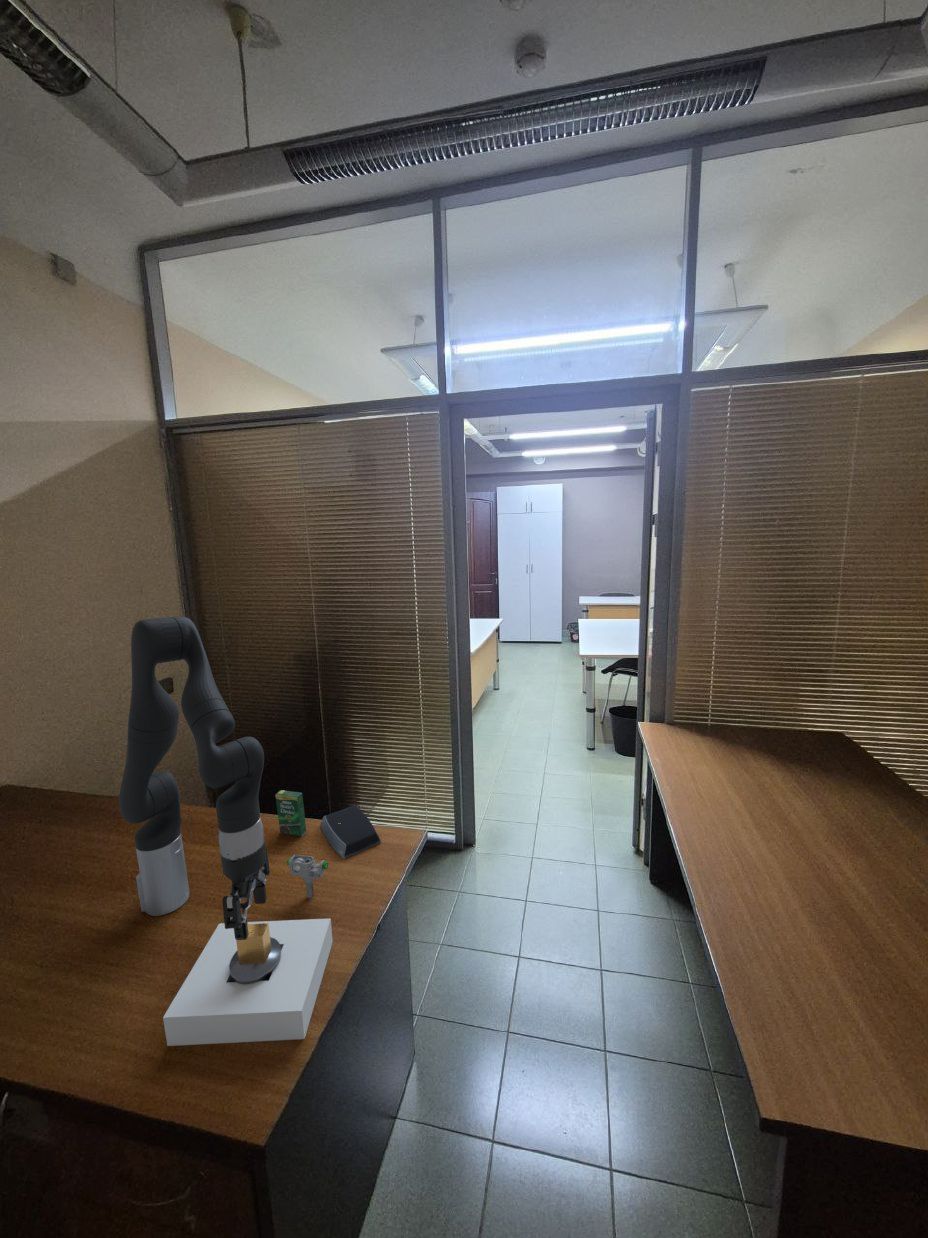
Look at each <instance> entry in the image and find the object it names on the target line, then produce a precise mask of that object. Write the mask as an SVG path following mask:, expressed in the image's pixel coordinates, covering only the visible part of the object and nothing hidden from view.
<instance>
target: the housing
mask: <svg viewBox="0 0 928 1238" xmlns="http://www.w3.org/2000/svg"><path fill="white" fill-rule="evenodd" d="M262 923H269V932H270V937H271V938H274V939H276V940H277V941H278V942H279V943H280V947H281V959H280V962H279V964H278V965H277V967H276V968H275V969H274V971H273V972H272V974H271V977H270V979H269V981H258V982H255V983H251V984H239V983H236V982H235V981H233V979H232V978H231V975H230V969H229V965H230V961H231V959H232V957H233V955H234V954H235V952H236V951H237V943H236V939H235V934H234V928H230V929H225V924H224V922H223V923H222V922H221V923H220V922H219V924H218V925H217V927H216V929H215V930H214V931H213V933H212V935H211V937H210V938H209V939H208V942H207V943H206V945H205V947H204V948H203V950H202V952H201V953H200V955H199V956H198V958H197V960H196V961H195V963H194V965H193V966H192V968H191V971H189V973H188V975H187V977H186V978H185V979H184V981H183V983H182V985H181V986H180V988H179V990H178V991H177V994H175V997H174V998H173V1000H172V1001H171V1003H170V1005H169V1007H168V1008H167V1010H166V1012H165V1013H164V1015H163V1017H162V1020H163V1026H164V1032H165V1033H164V1034H165V1038H166V1045H167V1047H176V1046H177V1047H178V1046H194V1045H197V1046H198V1045H213V1044H215V1045H216V1044H235V1043H237V1044H238V1043H253V1042H270V1041H276V1042H277V1041H291V1040H292V1041H293V1040H305V1038H306V1036H307V1032H308V1028H309V1026H310V1021H311V1018H312V1014H313V1011H314V1007H315V1004H316V1001H317V999H318V998H317V997H318V994H319V990H320V987H321V984H322V981H323V977H324V974H325V970H326V966H327V963H328V960H329V956H330V952H331V948H332V945H333V931H332V928H333V927H332V919H331V918H313V919H289V920H268V921H266V920H265V921H247V924H262Z"/></svg>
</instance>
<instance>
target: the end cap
mask: <svg viewBox="0 0 928 1238" xmlns="http://www.w3.org/2000/svg"><path fill="white" fill-rule="evenodd" d="M248 932H249V935H248V937H247V939H246V940H236V943H237V951H236V952H235V954H234V955H233V957H232V959H231V961H230V965H229V969H230V975H231V978H232V979H233V981H235V982H236V983H239V984H251V983H255V982H258V981H269V979H270V977H271V974H272V972H273V971H274V969H275V968H276V967H277V965H278V964H279V962H280V959H281V947H280V943H279V942H278V941H277V940H276V939H274V938H271V937H270V932H269V923H262V924H248Z"/></svg>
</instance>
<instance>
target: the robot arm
mask: <svg viewBox="0 0 928 1238" xmlns="http://www.w3.org/2000/svg"><path fill="white" fill-rule="evenodd" d="M130 639H131V640H130V650H131V651H130V652H131V653H130V654H131V657H130V658H131V692H130V693H131V695H130V696H131V697H130V706H129V713H128V722H127V744H126V745H127V746H126V756H125V757H126V759H125V766H124V771H123V775H122V779H121V784H120V790H119V794H118V795H119V798H118V801H119V802H118V805H119V810H120V814H121V816H122V818H123V819H124V821H126V822H127V823H129V824H133V825H134V824H135V825H136V824H140V823H143V822H145V821H146V822H145V823H144V824H142V826H141V827H139V829H138V830H137V831H136V833H135V834H134V838H133V839H134V846H135V851H136V858H137V864H138V869H139V870H138V871H139V873H138V874H137V875H136V876H135V877H136V878H135V881H136V886H137V891H138V897H139V903H140V908H141V909H140V910H141V912H142V913H146V914H147V915H149V916H151V917H159V916H164V915H167V914H170V913H172V912H174V911H176V910H178V909H179V908H181V907H182V906H183V905H185V903H186V902H187V901H188V900H189V898H190V887H189V880H188V873H187V872H188V871H187V866H186V865H187V864H186V858H185V852H184V844H183V838H182V837H183V836H182V831H181V826H182V813H181V798H180V790H179V785H178V782H177V780H176V777H175V776H174V775H173V774H172V773H171V772H169V771H167V770H161V771H157V772H154V771H155V770H156V768H157V767H158V765H159V764H160V763H161V761H163V759H164V757H165V756H166V755H167V754H168V752H169V751H170V749H171V747H172V746H173V744H174V743H175V741H176V738H177V735H178V731H179V730H178V729H179V720H180V709H179V706H178V704H177V702H176V701H175V699H173V697H172V696H171V695H170V694H169V693H168V692H167V690H165V689H164V688H163V686H162V685H161V684H160V682H159V681H158V680H157V678H156V672H155V671H156V667H157V665H158V664H163V663H169V662H175V661H182V660H184V661H185V662H186V664H187V666H188V674H187V675H188V676H187V678H186V682H185V685H184V687H183V692H182V694H181V701H180V704H181V710H182V711H181V713H182V714H183V716H184V719H185V720H186V723H187V725H188V727H189V729H190V731H191V733H192V736H193V737H194V740H195V745H196V750H197V756H198V758H197V759H198V771H199V776H200V779H201V781H202V782H203V784H205V785H206V786H207V787H209V788H211V789H220V788H224V787H225V786H227V785H230V784H233V783H234V782H235V783H234V784H233V785H231V787H229V788H228V789H227V790H225V791H224V792H223V793H221V794H220V795H219V796H218V798H217V799H216V802H215V810H216V811H215V813H216V818H217V819H216V820H217V825H218V846H219V854H220V860H221V869H222V873H223V875H224V876H225V877H226V878H227V879H228V880H230V881H231V887H230V890H231V893H229V895H224V896H223V897H222V901H221V902H222V910H223V911H222V912H223V913H222V914H223V920H224V921H223V923H224V924H225V929H230V928H234V934H235V939H236V940H246V939H247V937H248V935H249V932H248V924H247V922H248V918H247V916H248V910H249V908H250V907H251V905H252V901H254V903H255V905H258V904H259V905H261V904H265V903H266V902H267V890H266V884H267V882H268V881H267V879H268V878H267V876H269V875H270V872H271V870H270V862H269V856H268V850H267V848H266V842H265V833H264V826H263V822H262V819H261V818H262V817H261V812H260V811H261V810H260V801H259V794H260V789H261V788H260V787H261V781H262V777H263V771H264V766H265V765H264V764H265V752H264V749H263V746H262V745H261V742H259V740H258V739H256V738H255V737H253V736H244V737H240V738H238V739H235V740H233V741H232V740H231V741H229V742H226V743H222V744H220V745H216V744H217V743H220V742H221V741H223V740H224V739H225V738H227V737H229V735H231V733H232V732H234V730H235V727H236V721H235V719H234V716H233V714H232V713H231V711H230V710H229V708H228V705H227V704H226V702H225V700H224V698H223V696H222V695H221V693H220V691H219V689H218V686H217V684H216V681H215V678H214V675H213V672H212V668H211V665H210V663H209V659H208V656H207V652H206V649H205V647H204V645H203V641H202V638H201V636H200V633H199V630H198V629H197V626H196V624H195V623H194V621H192V619H190V618H189V617H186V616H168V617H167V616H166V617H155V618H144V619H140V620H138V621H136V622H135V623H134V625H133V627H132V631H131V637H130ZM243 899H244V900H245V899H246V900H245V902H242V900H243ZM241 909H242V910H241Z"/></svg>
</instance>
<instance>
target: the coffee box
mask: <svg viewBox="0 0 928 1238" xmlns="http://www.w3.org/2000/svg"><path fill="white" fill-rule="evenodd" d="M275 803H276V810H277V818H278V820H277V821H278V825H279V826H278V827H279V833H280V834H283V835H284V834H285V835H290V836H296V837H303V836H304V835H306V833H307V827H306V826H307V824H306V817H305V815H306V814H305V807H304V798H303V793H302V792H298V791H290V790H284V789H283V790H282V789H281V790H278V791H277V793H275Z"/></svg>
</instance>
